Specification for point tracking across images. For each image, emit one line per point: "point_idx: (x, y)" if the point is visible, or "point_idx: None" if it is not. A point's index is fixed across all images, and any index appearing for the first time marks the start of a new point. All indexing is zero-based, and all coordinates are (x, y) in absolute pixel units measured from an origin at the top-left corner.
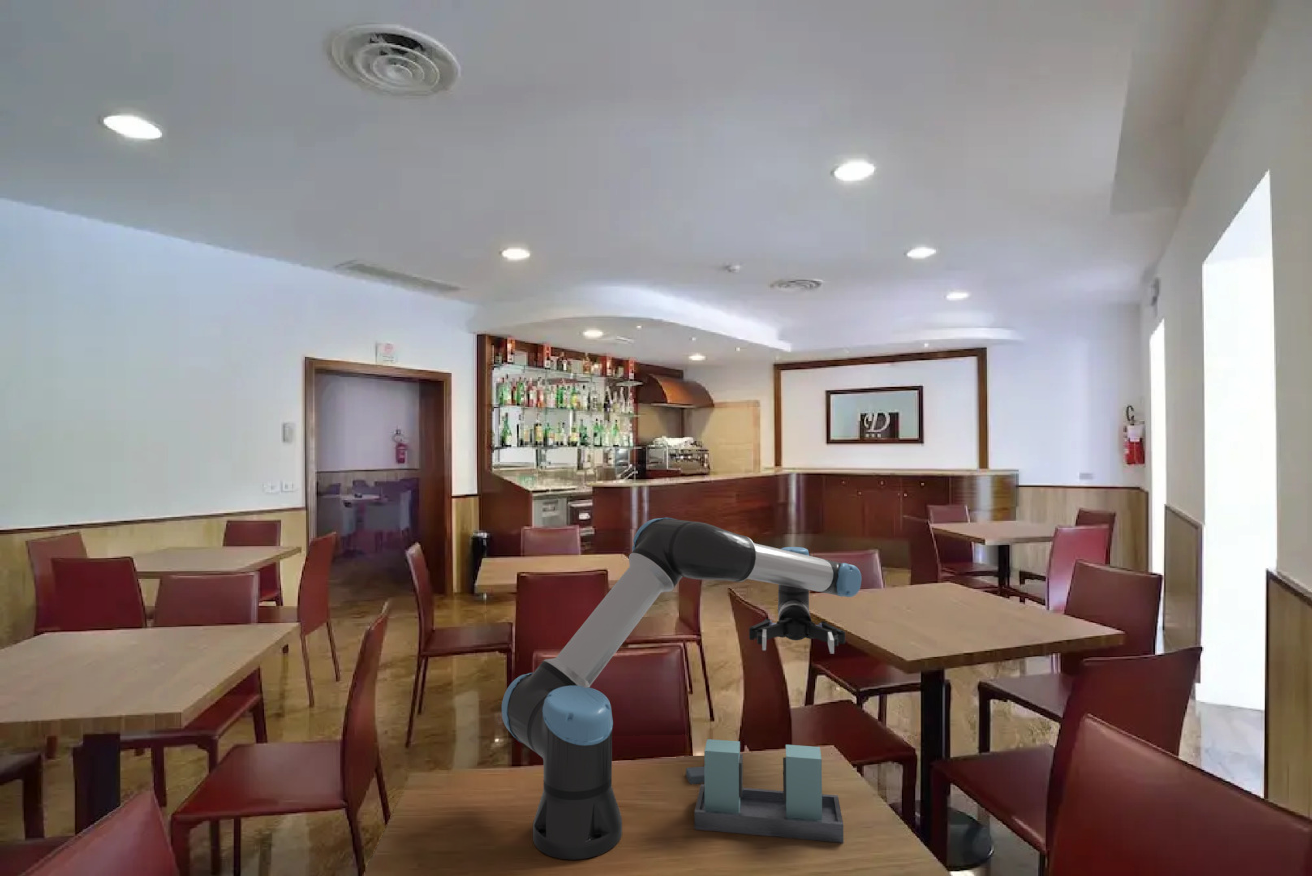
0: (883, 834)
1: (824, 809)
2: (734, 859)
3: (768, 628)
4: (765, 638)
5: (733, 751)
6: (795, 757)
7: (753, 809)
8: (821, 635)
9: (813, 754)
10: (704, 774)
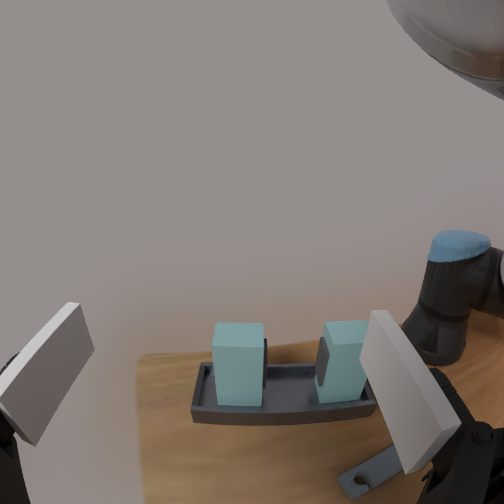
0: (156, 387)
1: (212, 404)
2: (305, 347)
3: (446, 489)
4: (371, 315)
5: (332, 324)
6: (250, 323)
7: (301, 394)
8: (13, 494)
9: (225, 329)
10: (387, 449)
